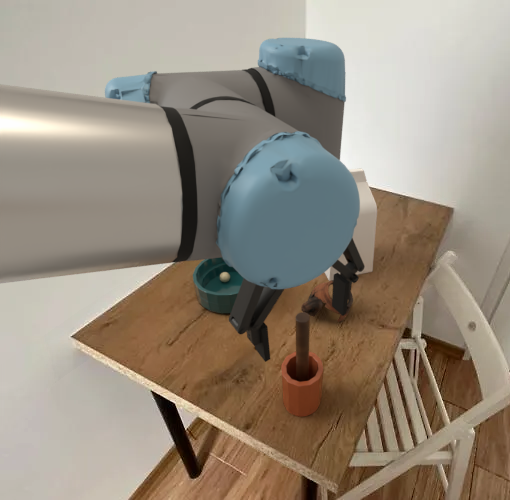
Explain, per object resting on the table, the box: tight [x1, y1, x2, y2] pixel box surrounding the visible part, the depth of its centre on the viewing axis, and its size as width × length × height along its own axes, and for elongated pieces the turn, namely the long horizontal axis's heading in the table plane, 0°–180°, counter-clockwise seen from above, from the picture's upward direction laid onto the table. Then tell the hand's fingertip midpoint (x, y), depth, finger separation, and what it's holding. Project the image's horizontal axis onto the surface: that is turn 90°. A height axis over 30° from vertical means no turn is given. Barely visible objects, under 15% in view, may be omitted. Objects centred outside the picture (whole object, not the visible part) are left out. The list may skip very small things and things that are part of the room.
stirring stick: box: [295, 312, 311, 382], centre depth 56 cm, size 2×2×20 cm
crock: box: [280, 350, 324, 418], centre depth 59 cm, size 7×7×9 cm
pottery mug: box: [301, 280, 354, 323], centre depth 77 cm, size 12×10×8 cm
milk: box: [323, 167, 378, 282], centre depth 86 cm, size 12×12×26 cm
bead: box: [220, 272, 230, 282], centre depth 84 cm, size 2×2×2 cm
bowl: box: [192, 257, 244, 314], centre depth 81 cm, size 15×15×6 cm
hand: (303, 330), depth 52 cm, fingers open, 13 cm apart
